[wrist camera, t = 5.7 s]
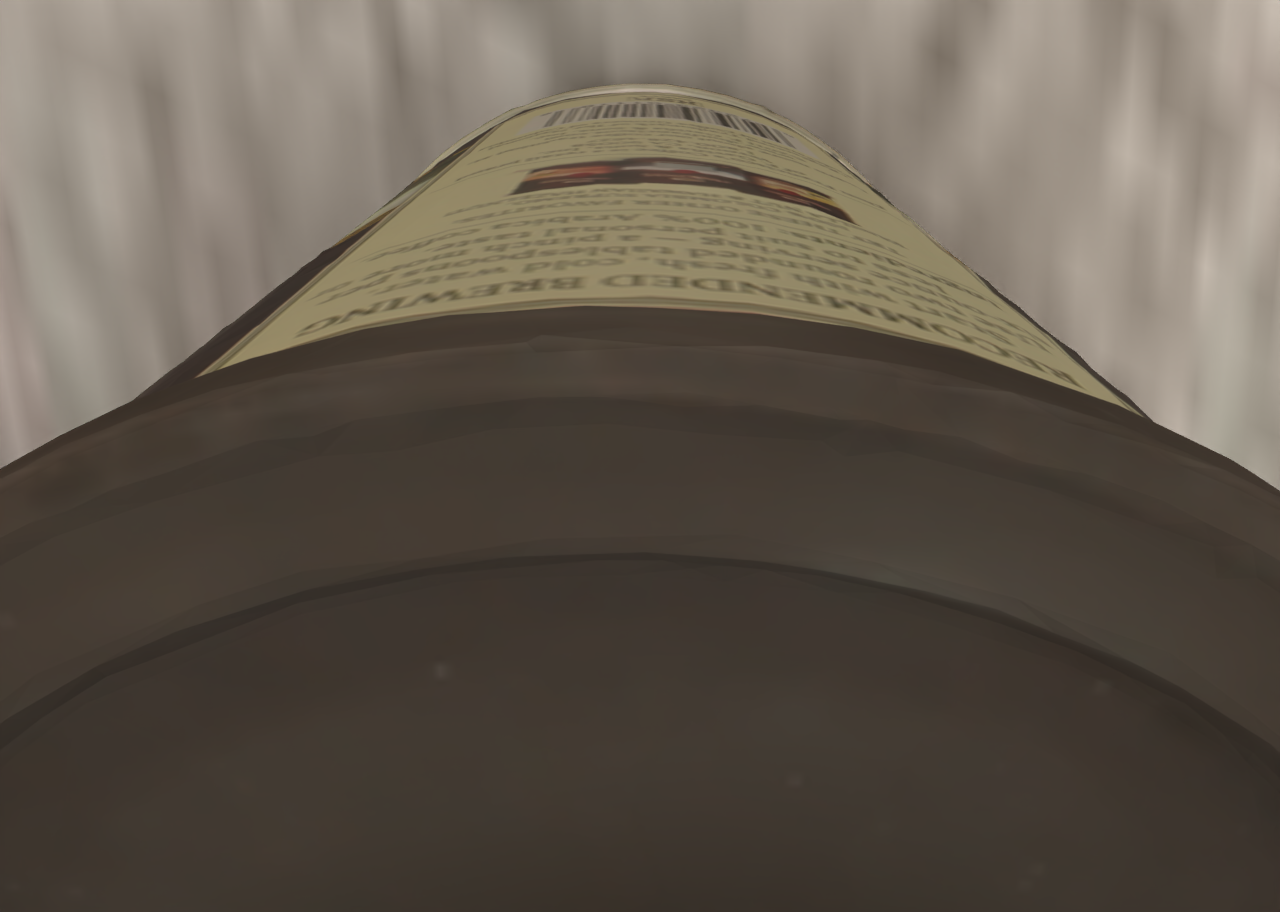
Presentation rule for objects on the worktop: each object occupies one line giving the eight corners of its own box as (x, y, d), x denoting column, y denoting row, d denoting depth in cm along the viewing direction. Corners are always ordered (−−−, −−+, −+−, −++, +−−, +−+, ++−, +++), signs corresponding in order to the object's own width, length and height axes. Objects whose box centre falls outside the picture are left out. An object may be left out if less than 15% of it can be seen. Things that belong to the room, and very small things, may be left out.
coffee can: (493, 716, 21) (242, 1843, 8) (233, 223, 18) (-963, 845, 5) (1010, 550, 20) (1705, 1609, 7) (843, -28, 16) (1664, -173, 3)
